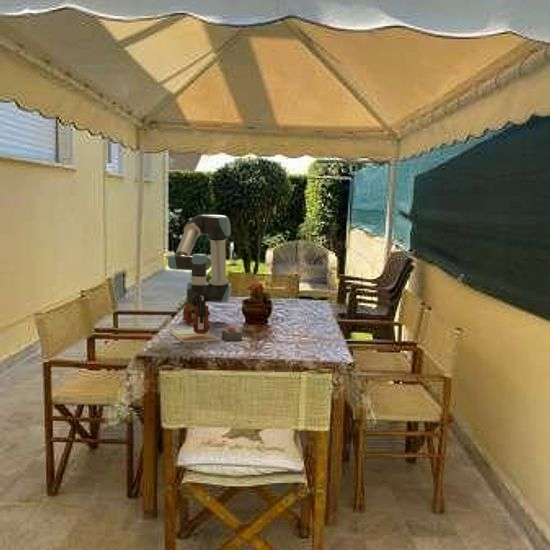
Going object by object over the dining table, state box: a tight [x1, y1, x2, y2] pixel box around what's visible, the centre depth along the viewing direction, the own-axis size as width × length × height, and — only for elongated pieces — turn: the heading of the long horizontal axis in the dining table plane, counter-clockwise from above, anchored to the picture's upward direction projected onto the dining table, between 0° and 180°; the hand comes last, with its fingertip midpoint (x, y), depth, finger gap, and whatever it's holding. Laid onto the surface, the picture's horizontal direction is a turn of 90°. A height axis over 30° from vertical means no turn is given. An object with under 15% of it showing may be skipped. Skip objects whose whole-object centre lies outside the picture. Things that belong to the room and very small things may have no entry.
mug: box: [182, 303, 211, 334], centre depth 327 cm, size 15×8×15 cm, turn 75°
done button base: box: [221, 328, 243, 341], centre depth 332 cm, size 8×8×4 cm
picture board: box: [168, 329, 219, 343], centre depth 333 cm, size 26×18×1 cm
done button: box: [227, 326, 236, 332], centre depth 331 cm, size 4×4×4 cm
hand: (197, 327), depth 326 cm, fingers closed on mug, 10 cm apart
